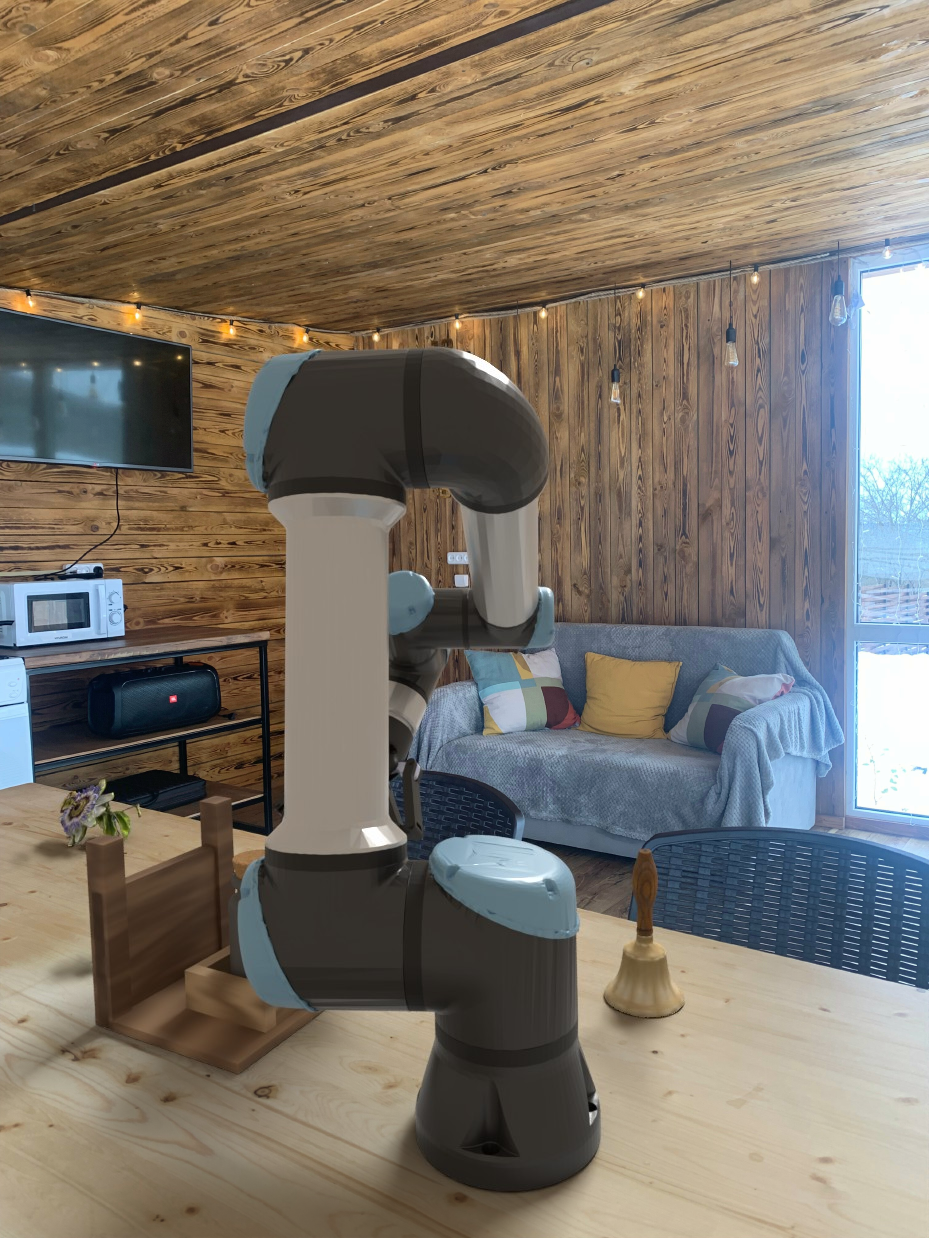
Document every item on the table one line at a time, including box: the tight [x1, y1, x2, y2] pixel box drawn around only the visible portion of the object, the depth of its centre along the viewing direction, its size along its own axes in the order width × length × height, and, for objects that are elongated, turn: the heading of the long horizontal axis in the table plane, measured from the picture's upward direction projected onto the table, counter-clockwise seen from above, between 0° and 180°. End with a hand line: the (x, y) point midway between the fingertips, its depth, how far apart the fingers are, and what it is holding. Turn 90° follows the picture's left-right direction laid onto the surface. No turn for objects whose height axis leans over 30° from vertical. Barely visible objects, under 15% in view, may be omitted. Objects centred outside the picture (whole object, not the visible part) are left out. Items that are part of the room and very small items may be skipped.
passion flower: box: [58, 779, 143, 846], centre depth 151 cm, size 11×11×12 cm
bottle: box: [228, 848, 265, 979], centre depth 95 cm, size 6×6×15 cm
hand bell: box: [603, 848, 685, 1019], centre depth 96 cm, size 8×8×16 cm
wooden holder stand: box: [84, 795, 325, 1075], centre depth 95 cm, size 19×18×19 cm
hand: (318, 881), depth 104 cm, fingers open, 13 cm apart
